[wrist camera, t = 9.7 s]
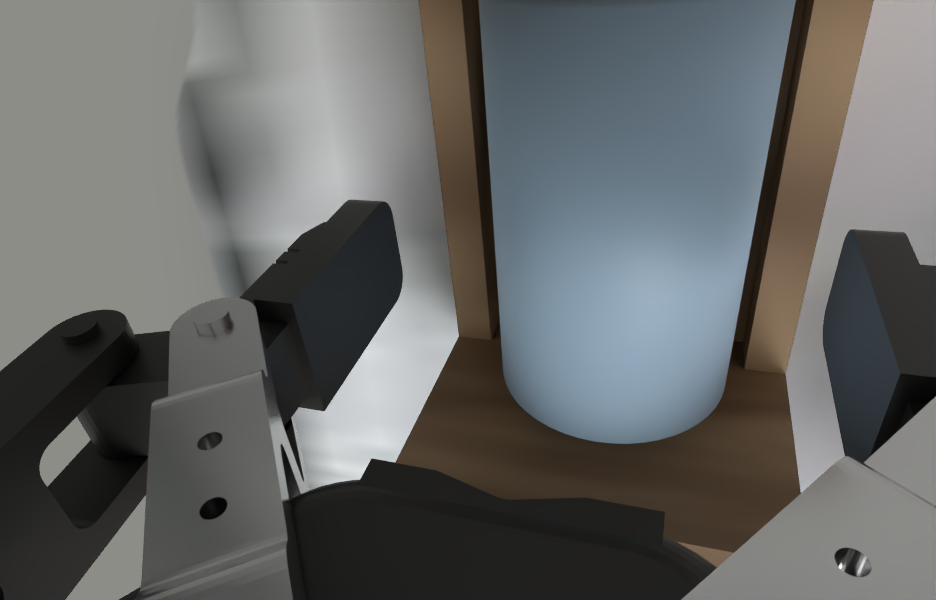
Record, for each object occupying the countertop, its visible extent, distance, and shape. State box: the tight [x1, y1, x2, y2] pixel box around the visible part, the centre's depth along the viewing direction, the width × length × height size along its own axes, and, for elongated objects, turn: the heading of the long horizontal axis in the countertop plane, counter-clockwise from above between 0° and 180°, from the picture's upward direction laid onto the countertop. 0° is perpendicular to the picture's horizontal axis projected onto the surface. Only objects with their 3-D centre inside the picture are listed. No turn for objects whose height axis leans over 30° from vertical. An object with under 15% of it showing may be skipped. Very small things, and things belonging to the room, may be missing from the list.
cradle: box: [396, 0, 874, 568], centre depth 14 cm, size 14×9×8 cm, turn 5°
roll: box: [479, 0, 796, 444], centre depth 14 cm, size 10×6×6 cm, turn 5°
